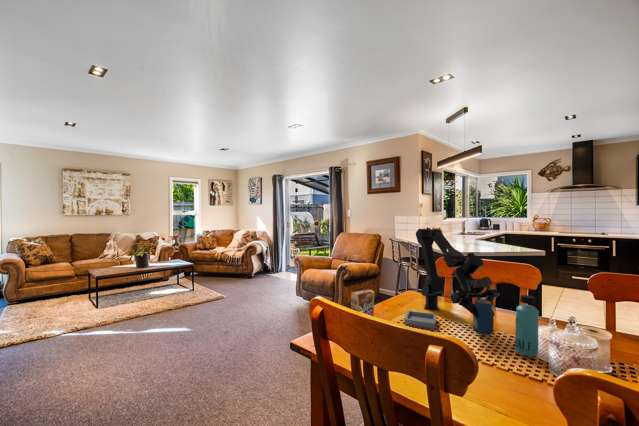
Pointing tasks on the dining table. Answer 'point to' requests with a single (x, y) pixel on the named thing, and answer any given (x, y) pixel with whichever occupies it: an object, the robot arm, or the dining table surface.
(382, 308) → the dining table surface
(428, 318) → the tray
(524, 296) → the beverage bottle
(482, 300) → the soda can
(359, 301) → the candy box
